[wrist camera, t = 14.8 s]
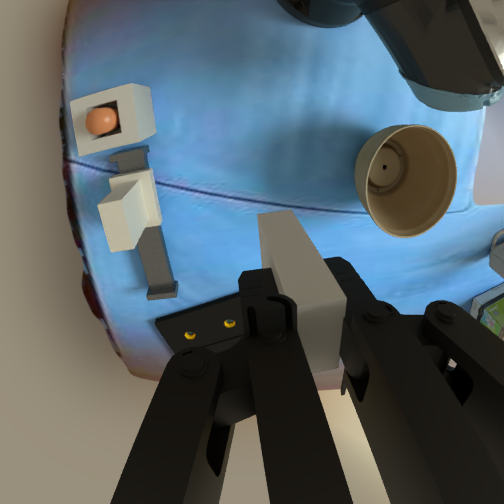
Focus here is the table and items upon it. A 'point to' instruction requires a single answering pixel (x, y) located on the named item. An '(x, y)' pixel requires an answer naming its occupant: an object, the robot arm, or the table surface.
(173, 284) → the rail
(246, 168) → the table surface
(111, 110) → the plunger
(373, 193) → the planter bowl
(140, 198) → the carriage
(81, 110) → the housing
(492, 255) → the network device
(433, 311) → the robot arm
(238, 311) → the black cassette tape
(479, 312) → the tea box
